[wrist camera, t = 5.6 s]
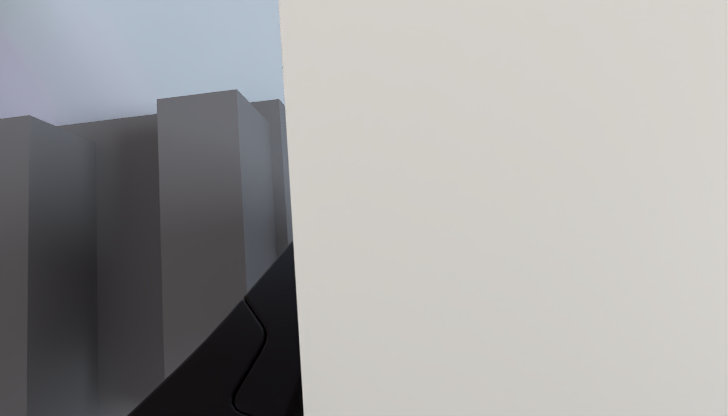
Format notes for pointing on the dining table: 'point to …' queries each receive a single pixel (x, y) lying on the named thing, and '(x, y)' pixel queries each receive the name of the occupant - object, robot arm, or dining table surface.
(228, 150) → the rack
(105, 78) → the dining table surface
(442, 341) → the grey block
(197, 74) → the dining table surface
